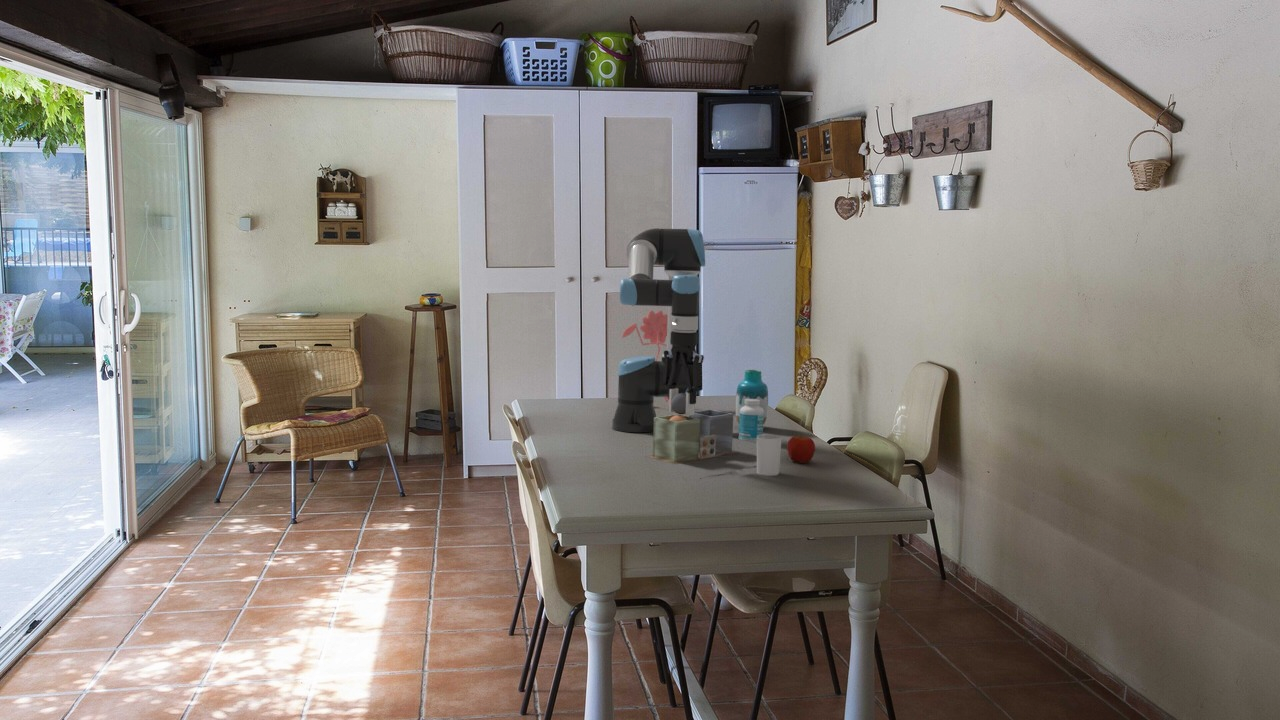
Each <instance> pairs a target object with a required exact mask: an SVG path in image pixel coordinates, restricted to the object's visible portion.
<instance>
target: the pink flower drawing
mask: <svg viewBox="0 0 1280 720" xmlns="http://www.w3.org/2000/svg"><path fill="white" fill-rule="evenodd" d="M647 315H648V316H647V317H646V316H644V317H643V318H642V323H643V324H642V325H641V326H640V327H639V329H640V331H641V332H642V333H644V334H643V336H642V338H643V340H649V341H650V342H646V343H644V342H643V340H642V338H641V334H640V332H639V329H638V326H637V324H636V323H634V324H631V325H629V326H628V327H627V328H626V329H625V330H624V331H623V332H622V335H621V338H622V339H624V338H626V337H628V336H630V335H631V334H632V333H633V332H634V331H635V329H636V333H637V335H638V338H639V341H640V343H641V345H642V346H647V345H655V344H656V345H657V348H658V351H657V353H656V354H657V355H656V357H655V361H658V358H659V355H660V351H661V347H660V345H661V346H664V347H667V344H665V343H666V340H667V323H668V313H664V314H663V311H662V310H658V311H657V312H655V311H653V310H650V311H649V312H648V314H647ZM663 398H664V400H665V402H667V403H668V404H669V399H668V397H663Z"/></svg>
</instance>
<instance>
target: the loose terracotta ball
mask: <svg viewBox="0 0 1280 720" xmlns="http://www.w3.org/2000/svg"><path fill="white" fill-rule="evenodd" d="M674 415H675V414H674ZM681 415H682V414H678V415H675V416H673V417H671V418H670V420H671V421H676V422H679V421H686V420H687V419H686V418H685V417H684V416H685V415H683V416H681Z"/></svg>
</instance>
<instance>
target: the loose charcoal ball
mask: <svg viewBox="0 0 1280 720" xmlns="http://www.w3.org/2000/svg"><path fill="white" fill-rule="evenodd" d="M671 407H672V409H673V411H674V412H673V413H675V414H678V415H686V394H685V393H678V394H676V395H675V396H674V397H673V398H672V400H671Z"/></svg>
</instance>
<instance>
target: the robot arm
mask: <svg viewBox="0 0 1280 720" xmlns="http://www.w3.org/2000/svg"><path fill="white" fill-rule="evenodd" d="M704 241H705V240H704V236H703V233H702V231H700V230H698V229H690V228H658V227H657V228H656V227H655V228H650V229H646V230H644V231H642V232H640V233H638V234H636V235H635V236H634V237H633V238H632V239H631V240H630V241H629V244H628V245H627V247H626V259H627V262H628V272H627V278H622V279H621V280H620V283H619V302H620V304H621V305H625V306H626V305H627V306H632V307H635V306H646V307H648V306H650V307H651V306H653V307H667V314H668V323H667V336H666V345H667V346H666V350H664V351H663V354H662V355H661V361H660V360H657V361H656V357H655V356H651V355H650V356H649V355H648V356H647V355H642V356H633V357H628V358H624V359H623V360H621V361H620V362H619V364H618V373H617V376H618V382H617V383H618V389H617V405H616V409H615V412H614V416H613V418H612V420H611V428H612V429H613V430H615V431H618V432H626V433H650V432H654V417H657V414H656V410H655V405H654V400H655V398H664V397H668V399H669V403H668V413H675V412H674V411H673V409H672V407H671V400H672V398H673V397H674V396H675V395H676V394H678V393H685V394H686V414H684V416H688V417H689V416H690V415H694V412H695V405H696V404H697V395H698V392H700V391H702V390H703V363H704V359H705V356H704V355H703V354H701V355H700V354H698V353H697V351H696V347H697V345H698V338H699V337H698V336H699V335H698V332H697V331H698V330H699V304H700V303H699V302H700V290H701V285H700V277H699V276H698V275H699V274H700V273H701V268H703V267H705V266H706V253H705V242H704ZM654 266H664V267H663V269H664V272H665V274H667V276H668V279H654Z"/></svg>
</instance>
